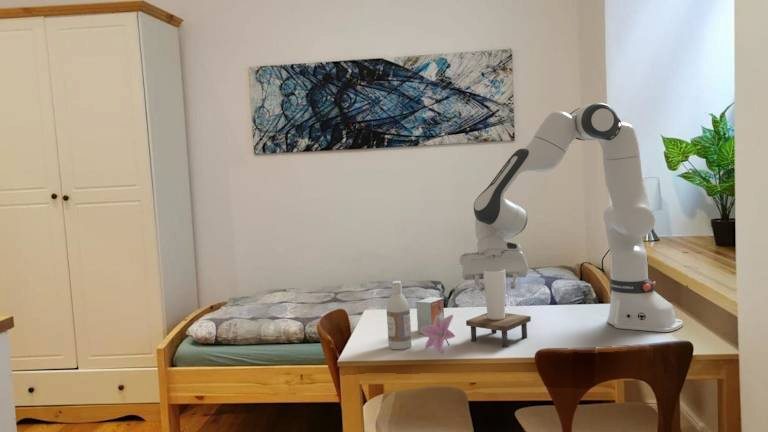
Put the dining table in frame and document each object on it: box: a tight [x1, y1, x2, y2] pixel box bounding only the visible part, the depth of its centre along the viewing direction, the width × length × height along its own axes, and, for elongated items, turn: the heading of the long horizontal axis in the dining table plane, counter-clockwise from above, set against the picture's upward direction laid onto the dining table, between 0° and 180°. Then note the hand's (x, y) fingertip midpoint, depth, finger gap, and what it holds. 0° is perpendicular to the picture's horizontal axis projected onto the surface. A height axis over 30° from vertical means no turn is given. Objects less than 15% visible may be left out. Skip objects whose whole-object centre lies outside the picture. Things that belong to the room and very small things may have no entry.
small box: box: [415, 296, 445, 334], centre depth 218 cm, size 8×6×10 cm
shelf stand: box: [465, 312, 532, 348], centre depth 204 cm, size 14×14×6 cm
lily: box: [421, 314, 456, 354], centre depth 199 cm, size 12×12×10 cm
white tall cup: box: [482, 268, 507, 320], centre depth 203 cm, size 7×7×15 cm
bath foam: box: [386, 280, 412, 351], centre depth 202 cm, size 7×7×20 cm
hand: (497, 288), depth 202 cm, fingers open, 8 cm apart
